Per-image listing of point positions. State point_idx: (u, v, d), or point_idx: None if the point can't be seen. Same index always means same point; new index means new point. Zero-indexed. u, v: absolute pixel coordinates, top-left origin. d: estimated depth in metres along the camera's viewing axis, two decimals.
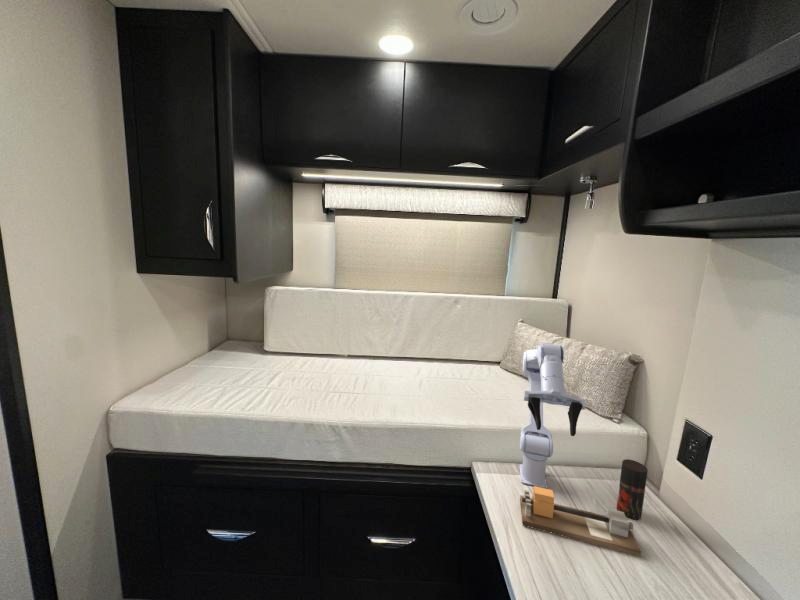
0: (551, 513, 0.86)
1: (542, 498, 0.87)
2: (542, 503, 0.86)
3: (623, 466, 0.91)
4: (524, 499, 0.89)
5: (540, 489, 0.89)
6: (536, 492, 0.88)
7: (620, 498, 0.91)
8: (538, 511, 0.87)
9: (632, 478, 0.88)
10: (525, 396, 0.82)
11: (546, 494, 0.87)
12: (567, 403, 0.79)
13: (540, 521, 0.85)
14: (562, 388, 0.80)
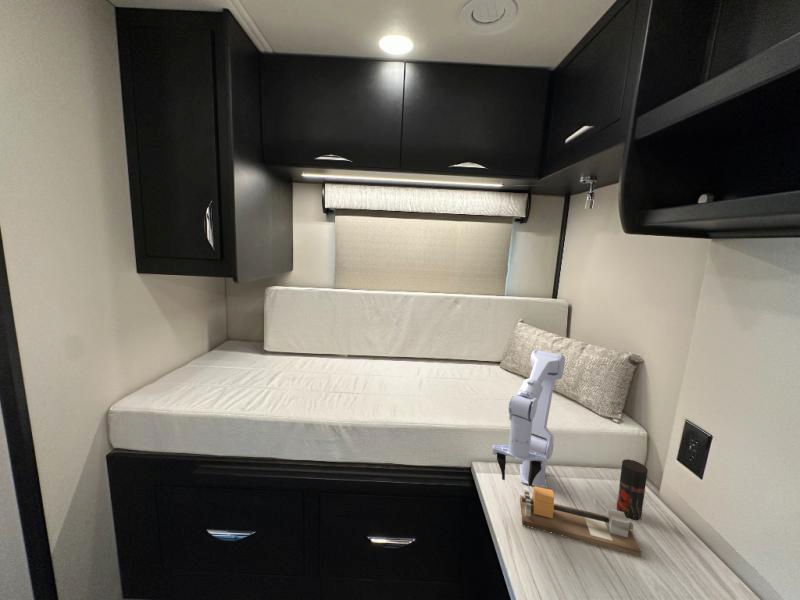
0: (551, 513, 0.86)
1: (542, 498, 0.87)
2: (542, 503, 0.86)
3: (623, 466, 0.91)
4: (524, 499, 0.89)
5: (540, 489, 0.89)
6: (536, 492, 0.88)
7: (620, 498, 0.91)
8: (538, 511, 0.87)
9: (632, 478, 0.88)
10: (493, 453, 0.90)
11: (546, 494, 0.87)
12: None
13: (540, 521, 0.85)
14: (527, 451, 0.86)
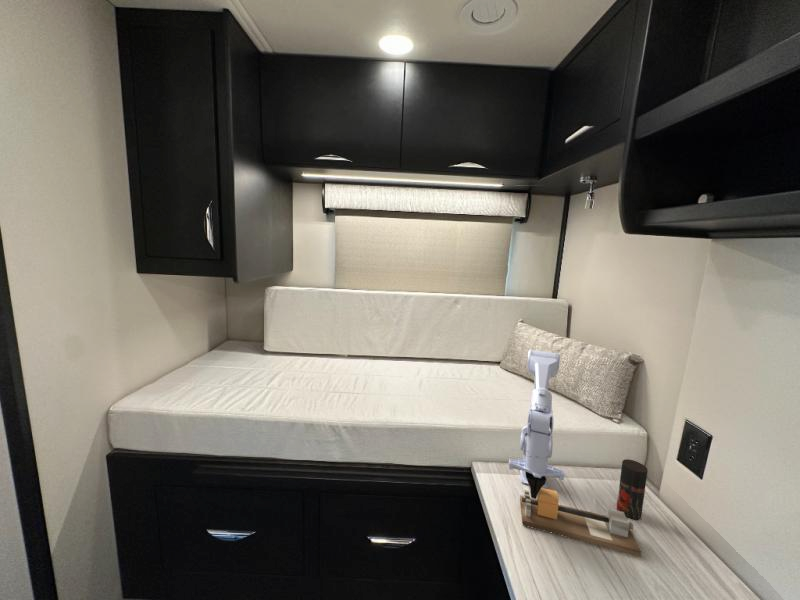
0: (555, 514, 0.86)
1: (546, 499, 0.86)
2: (546, 504, 0.86)
3: (623, 466, 0.91)
4: (524, 499, 0.89)
5: (544, 490, 0.88)
6: (540, 493, 0.87)
7: (620, 498, 0.91)
8: (543, 512, 0.87)
9: (632, 478, 0.88)
10: (509, 468, 0.89)
11: (550, 495, 0.87)
12: None
13: (540, 521, 0.85)
14: (544, 467, 0.85)
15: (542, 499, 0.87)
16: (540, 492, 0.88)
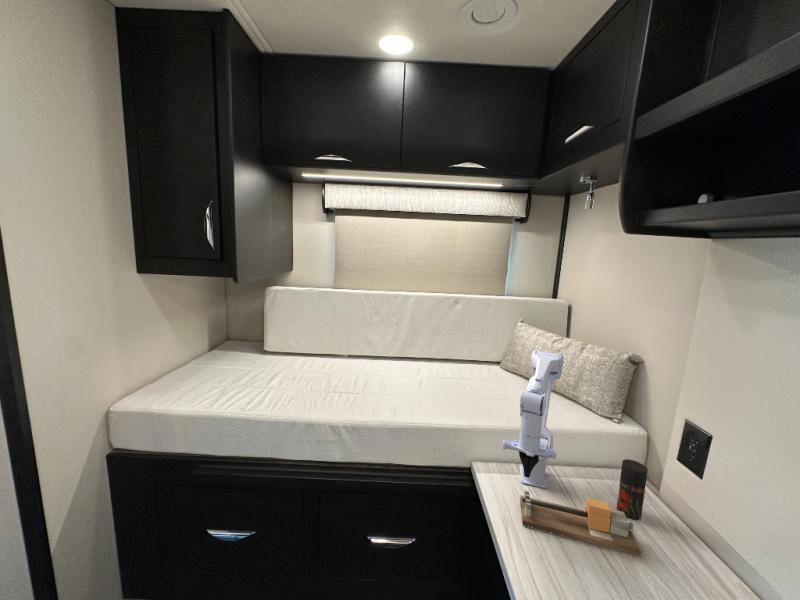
0: (607, 527, 0.82)
1: (597, 511, 0.83)
2: (598, 516, 0.82)
3: (623, 466, 0.91)
4: (524, 499, 0.89)
5: (594, 501, 0.85)
6: (591, 505, 0.83)
7: (620, 498, 0.91)
8: (593, 524, 0.83)
9: (632, 478, 0.88)
10: (503, 448, 0.92)
11: (601, 507, 0.83)
12: None
13: (540, 521, 0.85)
14: (537, 446, 0.88)
15: (593, 511, 0.83)
16: (590, 504, 0.84)
